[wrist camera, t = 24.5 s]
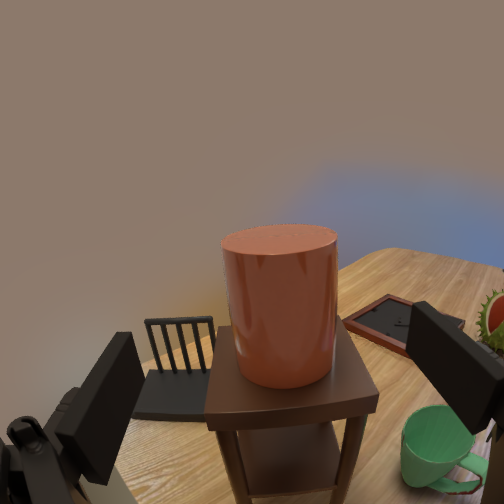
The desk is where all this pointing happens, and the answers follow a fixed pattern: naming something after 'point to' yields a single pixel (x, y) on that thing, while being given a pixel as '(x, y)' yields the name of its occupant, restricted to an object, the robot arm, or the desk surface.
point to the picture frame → (387, 322)
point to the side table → (289, 425)
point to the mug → (439, 451)
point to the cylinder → (282, 302)
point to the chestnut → (493, 321)
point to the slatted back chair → (175, 378)
